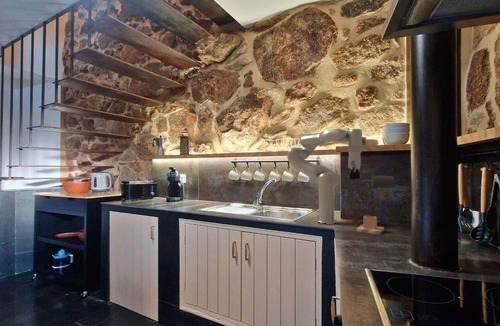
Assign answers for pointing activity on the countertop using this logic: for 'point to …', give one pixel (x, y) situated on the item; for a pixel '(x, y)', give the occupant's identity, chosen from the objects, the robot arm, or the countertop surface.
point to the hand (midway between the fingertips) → (354, 179)
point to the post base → (370, 230)
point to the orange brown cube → (370, 222)
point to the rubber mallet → (383, 192)
